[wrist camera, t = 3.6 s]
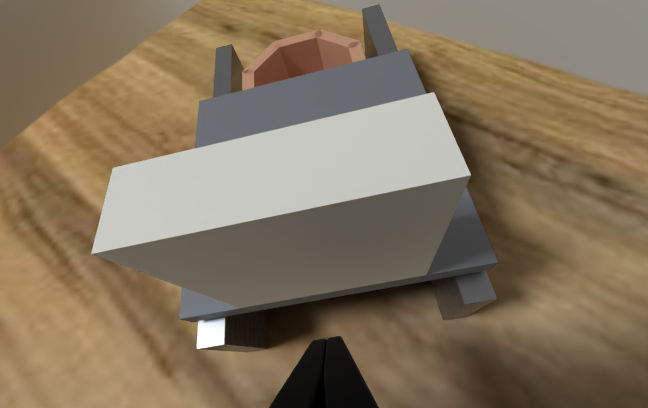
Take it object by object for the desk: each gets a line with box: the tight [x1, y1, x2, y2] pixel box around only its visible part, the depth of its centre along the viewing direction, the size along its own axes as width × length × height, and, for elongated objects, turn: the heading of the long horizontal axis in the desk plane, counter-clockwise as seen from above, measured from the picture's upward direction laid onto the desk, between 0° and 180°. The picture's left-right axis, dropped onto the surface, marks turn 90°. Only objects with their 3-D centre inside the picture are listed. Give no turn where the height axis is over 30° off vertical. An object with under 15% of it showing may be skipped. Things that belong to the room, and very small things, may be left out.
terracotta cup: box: [242, 29, 365, 90], centre depth 21 cm, size 8×8×5 cm
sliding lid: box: [91, 49, 498, 322], centre depth 12 cm, size 12×12×8 cm
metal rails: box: [197, 5, 497, 352], centre depth 19 cm, size 20×12×5 cm, turn 8°
